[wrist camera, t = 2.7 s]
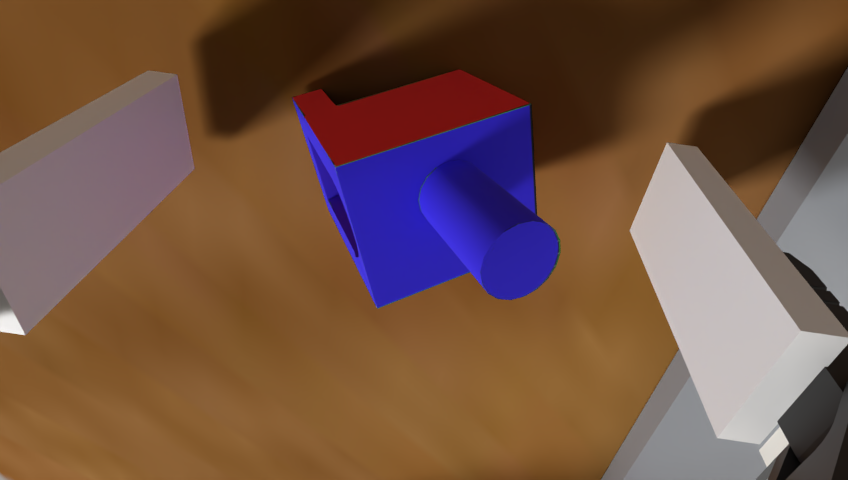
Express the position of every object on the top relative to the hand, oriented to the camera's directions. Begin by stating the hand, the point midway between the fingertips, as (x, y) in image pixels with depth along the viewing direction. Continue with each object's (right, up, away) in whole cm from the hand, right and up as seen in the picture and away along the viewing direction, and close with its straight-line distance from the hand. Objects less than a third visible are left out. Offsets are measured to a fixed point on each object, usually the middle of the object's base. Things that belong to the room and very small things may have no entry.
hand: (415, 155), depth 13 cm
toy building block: (0, +1, +1) cm, 1 cm away
